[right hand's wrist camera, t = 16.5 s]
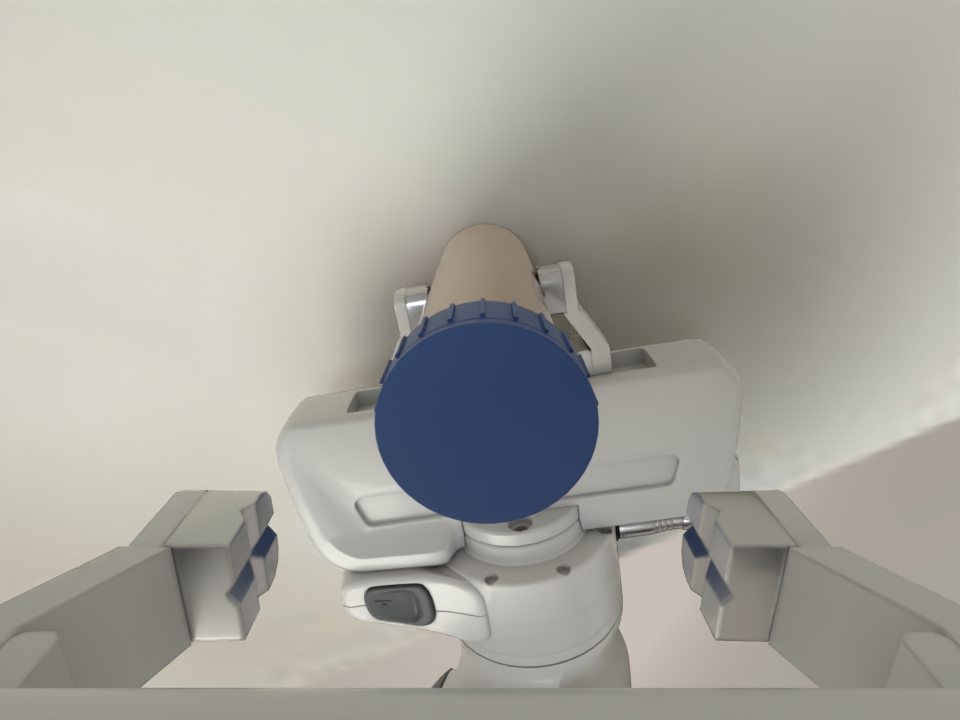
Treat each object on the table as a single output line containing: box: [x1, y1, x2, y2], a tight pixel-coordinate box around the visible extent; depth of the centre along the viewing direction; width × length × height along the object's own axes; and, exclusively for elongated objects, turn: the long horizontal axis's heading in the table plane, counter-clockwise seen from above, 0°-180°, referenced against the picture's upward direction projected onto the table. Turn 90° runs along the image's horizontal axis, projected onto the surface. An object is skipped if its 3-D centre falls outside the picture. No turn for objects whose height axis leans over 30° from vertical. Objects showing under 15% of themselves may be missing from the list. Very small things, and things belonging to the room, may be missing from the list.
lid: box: [374, 298, 599, 524], centre depth 14 cm, size 5×5×2 cm
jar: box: [417, 224, 554, 326], centre depth 22 cm, size 5×5×17 cm
